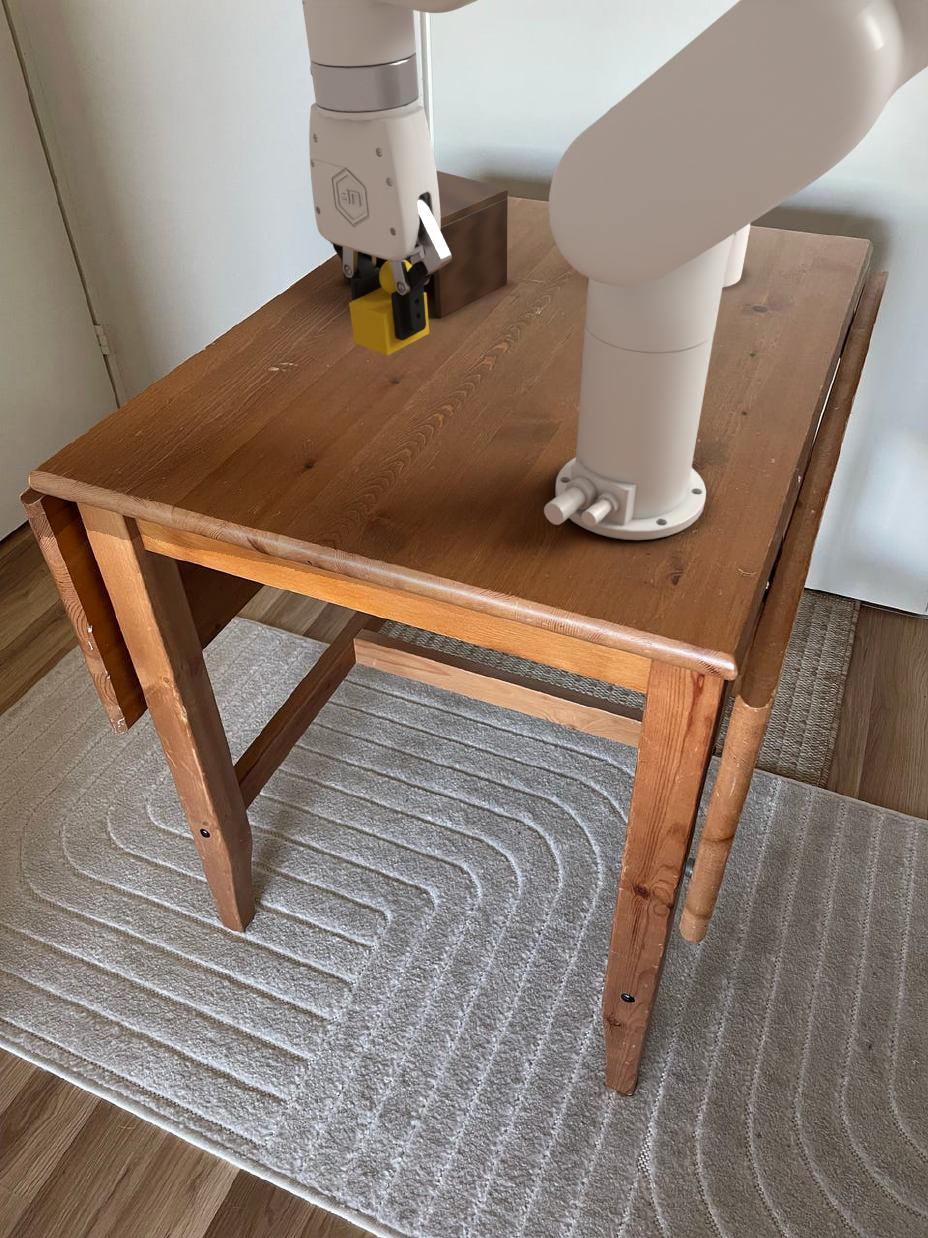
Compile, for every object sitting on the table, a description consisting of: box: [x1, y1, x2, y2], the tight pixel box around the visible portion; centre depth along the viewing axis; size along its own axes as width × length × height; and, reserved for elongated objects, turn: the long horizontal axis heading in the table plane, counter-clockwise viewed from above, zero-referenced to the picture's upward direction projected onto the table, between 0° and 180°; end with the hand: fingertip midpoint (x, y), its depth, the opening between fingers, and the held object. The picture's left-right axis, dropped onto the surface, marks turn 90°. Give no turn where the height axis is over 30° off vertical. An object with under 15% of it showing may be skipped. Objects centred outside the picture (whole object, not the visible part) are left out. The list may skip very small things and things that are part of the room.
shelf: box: [341, 170, 509, 319], centre depth 109 cm, size 12×16×11 cm
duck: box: [348, 260, 430, 356], centre depth 78 cm, size 7×4×6 cm, turn 139°
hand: (390, 324), depth 79 cm, fingers closed on duck, 4 cm apart
